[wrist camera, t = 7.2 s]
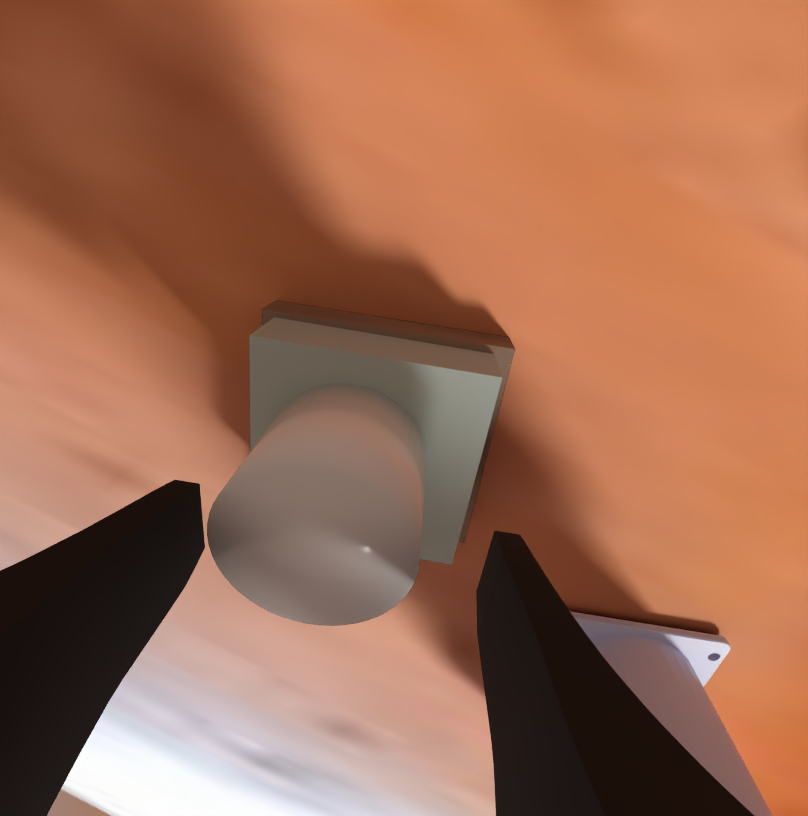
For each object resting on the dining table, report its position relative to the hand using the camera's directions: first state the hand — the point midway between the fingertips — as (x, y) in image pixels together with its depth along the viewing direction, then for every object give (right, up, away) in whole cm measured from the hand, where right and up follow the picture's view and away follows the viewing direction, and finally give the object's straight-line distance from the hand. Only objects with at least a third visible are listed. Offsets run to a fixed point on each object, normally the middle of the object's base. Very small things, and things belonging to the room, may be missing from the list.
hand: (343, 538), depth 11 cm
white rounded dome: (0, +2, +3) cm, 3 cm away
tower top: (0, +2, +5) cm, 5 cm away
